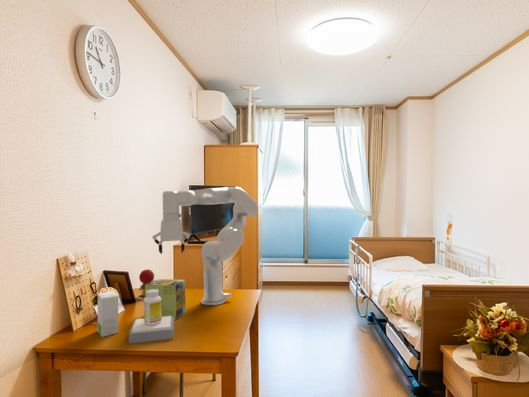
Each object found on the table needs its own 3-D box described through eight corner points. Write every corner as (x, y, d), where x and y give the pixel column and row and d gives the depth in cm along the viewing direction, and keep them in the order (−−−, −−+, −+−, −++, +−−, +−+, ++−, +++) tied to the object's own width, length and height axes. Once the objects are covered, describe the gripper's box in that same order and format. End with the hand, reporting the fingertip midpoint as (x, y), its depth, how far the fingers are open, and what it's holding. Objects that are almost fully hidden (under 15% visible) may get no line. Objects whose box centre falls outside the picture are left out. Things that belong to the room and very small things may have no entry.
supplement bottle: (165, 320, 135) (164, 289, 135) (154, 326, 129) (154, 293, 129) (151, 318, 138) (150, 287, 138) (140, 324, 131) (139, 292, 131)
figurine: (158, 294, 187) (157, 268, 187) (148, 300, 177) (147, 272, 177) (144, 294, 189) (144, 267, 189) (134, 299, 179) (133, 271, 179)
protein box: (176, 320, 148) (175, 285, 148) (144, 318, 151) (144, 284, 151) (186, 312, 158) (185, 279, 158) (156, 310, 161) (156, 278, 161)
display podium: (174, 325, 142) (173, 314, 142) (173, 338, 128) (172, 327, 128) (134, 329, 138) (134, 318, 138) (128, 343, 125) (128, 331, 125)
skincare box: (97, 331, 137) (96, 293, 137) (114, 326, 141) (113, 290, 141) (101, 337, 131) (101, 298, 130) (119, 333, 135) (118, 294, 134)
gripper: (189, 215, 164) (190, 250, 164) (152, 217, 160) (153, 252, 160) (189, 216, 156) (190, 253, 156) (151, 218, 152) (152, 255, 152)
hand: (171, 252), depth 158 cm, fingers open, 9 cm apart
